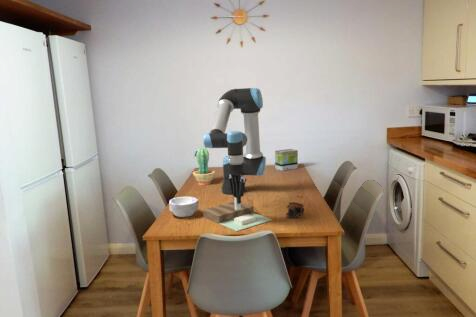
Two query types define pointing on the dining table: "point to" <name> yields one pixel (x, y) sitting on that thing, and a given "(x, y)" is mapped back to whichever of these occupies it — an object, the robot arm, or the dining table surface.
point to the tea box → (286, 159)
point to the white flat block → (245, 219)
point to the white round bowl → (183, 206)
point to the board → (227, 212)
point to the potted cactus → (203, 167)
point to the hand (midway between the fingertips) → (237, 209)
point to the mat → (238, 227)
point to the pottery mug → (295, 210)
